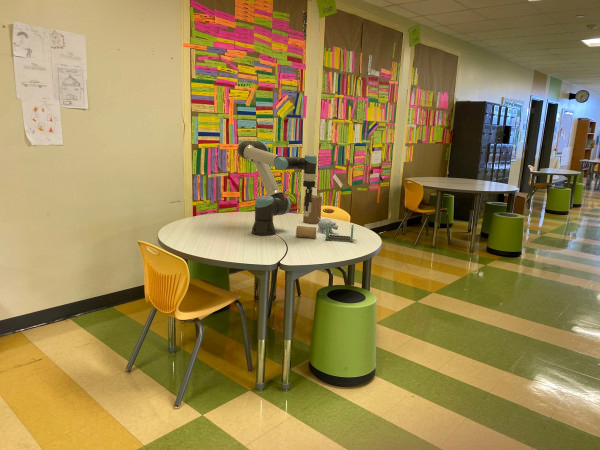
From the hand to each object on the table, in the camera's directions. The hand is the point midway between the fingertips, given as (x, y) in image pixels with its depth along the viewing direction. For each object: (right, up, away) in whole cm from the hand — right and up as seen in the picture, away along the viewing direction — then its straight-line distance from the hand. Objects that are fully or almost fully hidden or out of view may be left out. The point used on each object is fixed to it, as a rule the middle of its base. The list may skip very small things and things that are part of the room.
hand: (307, 214), depth 268 cm
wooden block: (+4, -5, +52) cm, 53 cm away
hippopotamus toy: (+13, -12, +20) cm, 27 cm away
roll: (-1, -15, +2) cm, 15 cm away
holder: (+20, -16, 0) cm, 25 cm away
